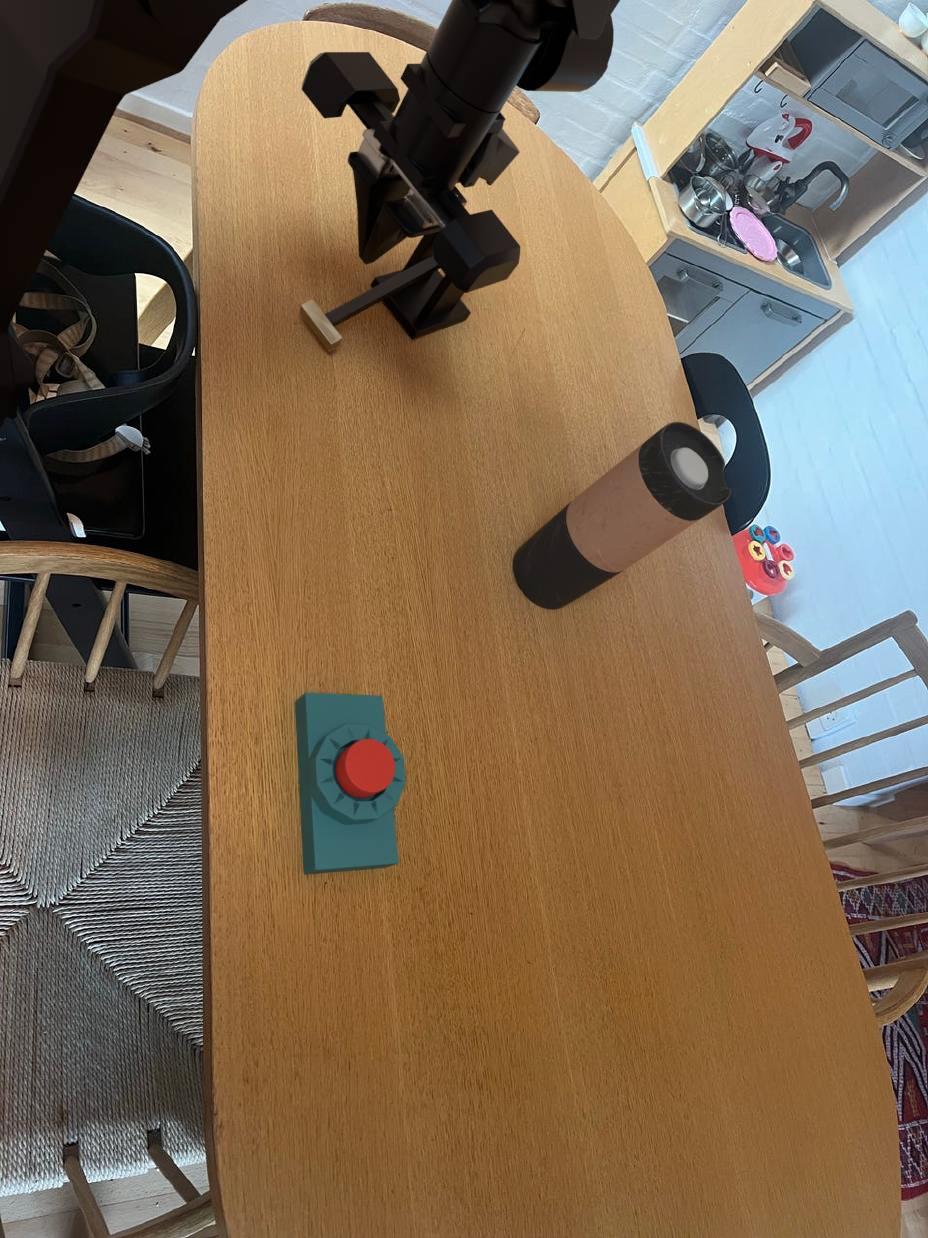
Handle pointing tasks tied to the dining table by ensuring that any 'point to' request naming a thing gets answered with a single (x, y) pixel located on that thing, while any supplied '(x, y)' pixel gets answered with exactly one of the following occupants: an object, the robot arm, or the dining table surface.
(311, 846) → the button block
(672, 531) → the travel mug
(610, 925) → the dining table surface
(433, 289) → the switch bracket
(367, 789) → the button
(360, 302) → the lever
